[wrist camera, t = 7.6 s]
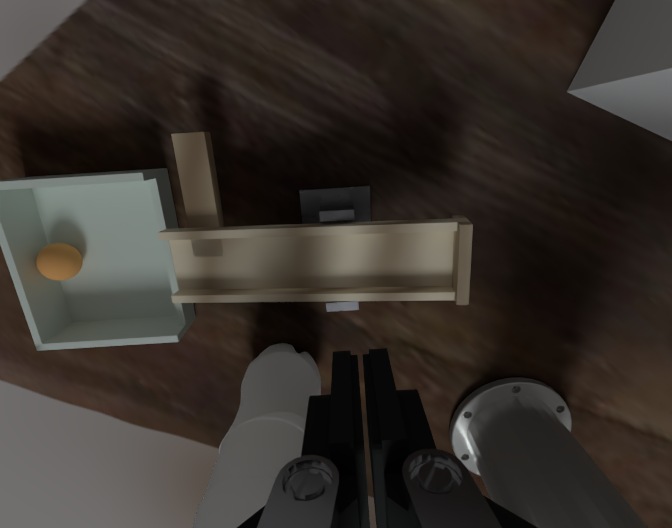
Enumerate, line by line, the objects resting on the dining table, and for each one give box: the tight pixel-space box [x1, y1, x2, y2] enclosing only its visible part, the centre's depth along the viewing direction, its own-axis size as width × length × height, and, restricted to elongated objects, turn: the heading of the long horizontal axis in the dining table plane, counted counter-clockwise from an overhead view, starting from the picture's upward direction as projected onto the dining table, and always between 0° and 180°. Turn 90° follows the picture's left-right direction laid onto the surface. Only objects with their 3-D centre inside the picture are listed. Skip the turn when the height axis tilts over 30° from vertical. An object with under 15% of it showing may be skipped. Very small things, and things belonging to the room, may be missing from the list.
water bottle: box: [193, 343, 321, 528], centre depth 27 cm, size 7×7×25 cm
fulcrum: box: [299, 185, 371, 312], centre depth 31 cm, size 6×9×7 cm, turn 3°
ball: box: [36, 243, 83, 281], centre depth 32 cm, size 3×3×3 cm
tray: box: [0, 168, 196, 351], centre depth 32 cm, size 14×12×4 cm
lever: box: [158, 132, 473, 305], centre depth 27 cm, size 22×12×3 cm, turn 94°
